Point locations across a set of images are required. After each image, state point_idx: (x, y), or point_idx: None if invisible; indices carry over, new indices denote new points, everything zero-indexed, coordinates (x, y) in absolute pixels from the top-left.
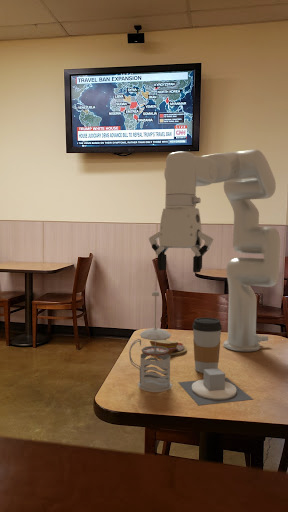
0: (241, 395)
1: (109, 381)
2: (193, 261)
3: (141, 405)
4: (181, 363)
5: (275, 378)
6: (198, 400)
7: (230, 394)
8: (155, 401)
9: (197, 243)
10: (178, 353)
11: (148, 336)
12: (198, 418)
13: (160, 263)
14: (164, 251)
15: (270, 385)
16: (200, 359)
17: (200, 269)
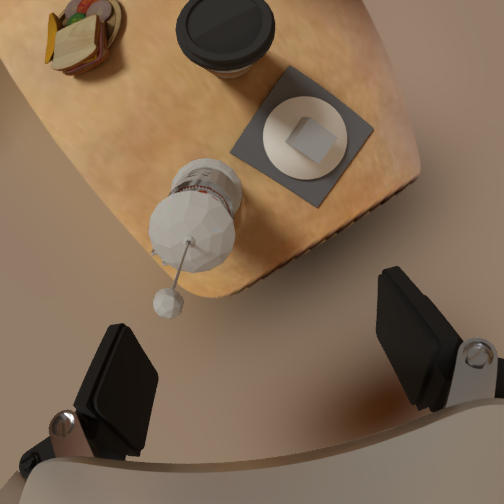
0: (353, 126)
1: (134, 236)
2: (401, 381)
3: (244, 261)
4: (156, 58)
5: (354, 10)
6: (307, 193)
7: (345, 148)
8: (250, 236)
9: (489, 439)
10: (118, 30)
11: (202, 269)
12: (333, 234)
13: (148, 406)
14: (90, 442)
15: (364, 45)
16: (231, 76)
17: (402, 272)
